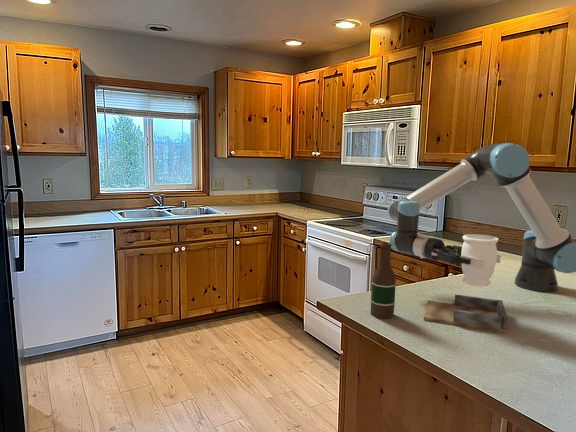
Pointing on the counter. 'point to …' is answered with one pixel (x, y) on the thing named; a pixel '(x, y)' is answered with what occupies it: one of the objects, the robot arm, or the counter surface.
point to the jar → (483, 250)
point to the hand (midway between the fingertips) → (491, 261)
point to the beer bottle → (383, 286)
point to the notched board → (448, 314)
